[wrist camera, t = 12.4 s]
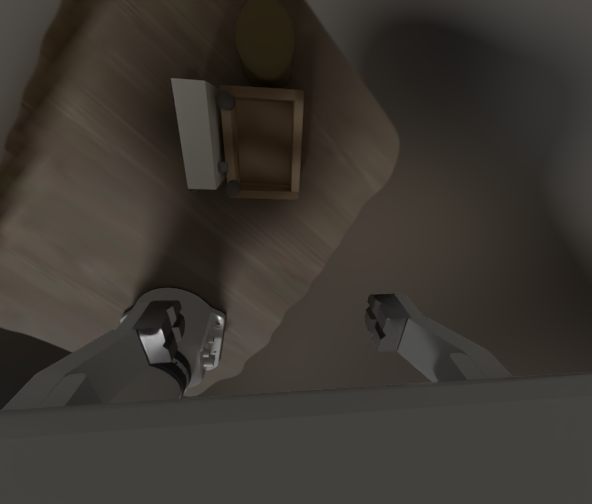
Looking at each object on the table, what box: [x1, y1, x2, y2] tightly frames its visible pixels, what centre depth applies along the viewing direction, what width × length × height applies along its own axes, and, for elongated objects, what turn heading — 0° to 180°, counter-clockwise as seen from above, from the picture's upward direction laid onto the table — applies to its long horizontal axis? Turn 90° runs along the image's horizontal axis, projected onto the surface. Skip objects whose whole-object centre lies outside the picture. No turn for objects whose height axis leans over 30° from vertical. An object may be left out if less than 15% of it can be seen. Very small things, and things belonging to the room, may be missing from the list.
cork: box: [234, 0, 295, 89], centre depth 24 cm, size 6×6×11 cm
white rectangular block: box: [171, 78, 228, 190], centre depth 28 cm, size 10×4×9 cm, turn 177°
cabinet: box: [190, 85, 304, 200], centre depth 30 cm, size 12×15×8 cm
